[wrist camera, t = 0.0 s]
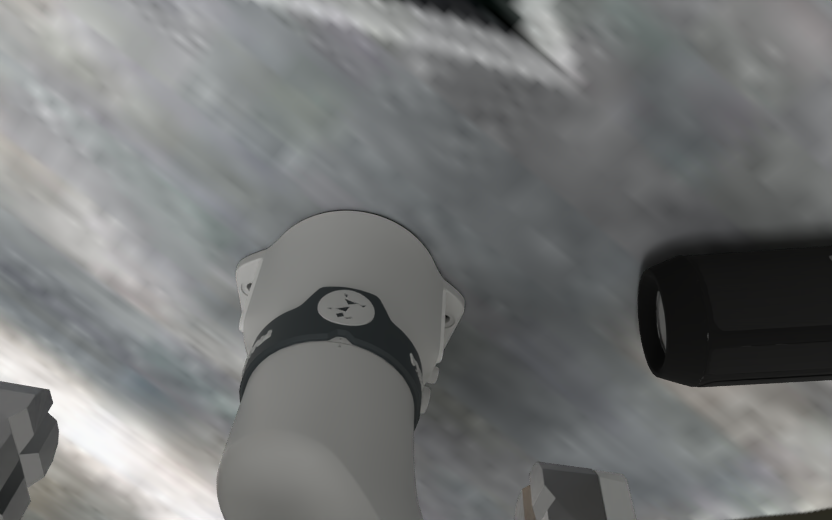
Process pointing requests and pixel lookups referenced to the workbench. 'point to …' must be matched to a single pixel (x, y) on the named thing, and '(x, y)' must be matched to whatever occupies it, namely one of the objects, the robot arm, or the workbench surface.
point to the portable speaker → (739, 317)
